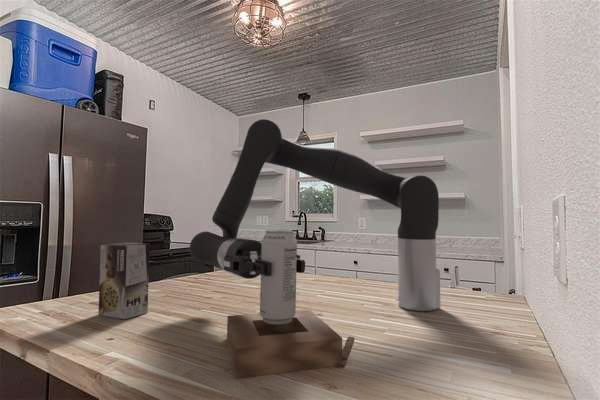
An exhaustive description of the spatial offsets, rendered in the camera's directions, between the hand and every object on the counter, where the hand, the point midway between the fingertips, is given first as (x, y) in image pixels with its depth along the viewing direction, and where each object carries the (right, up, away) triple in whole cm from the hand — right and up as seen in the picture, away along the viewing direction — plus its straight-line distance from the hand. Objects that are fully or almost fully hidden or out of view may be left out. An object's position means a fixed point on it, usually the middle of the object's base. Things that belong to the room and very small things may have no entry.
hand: (287, 267), depth 54 cm
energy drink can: (-2, -9, +2) cm, 10 cm away
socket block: (-1, -14, +1) cm, 14 cm away
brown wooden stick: (+10, -15, +1) cm, 18 cm away
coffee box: (-39, -15, +21) cm, 47 cm away
